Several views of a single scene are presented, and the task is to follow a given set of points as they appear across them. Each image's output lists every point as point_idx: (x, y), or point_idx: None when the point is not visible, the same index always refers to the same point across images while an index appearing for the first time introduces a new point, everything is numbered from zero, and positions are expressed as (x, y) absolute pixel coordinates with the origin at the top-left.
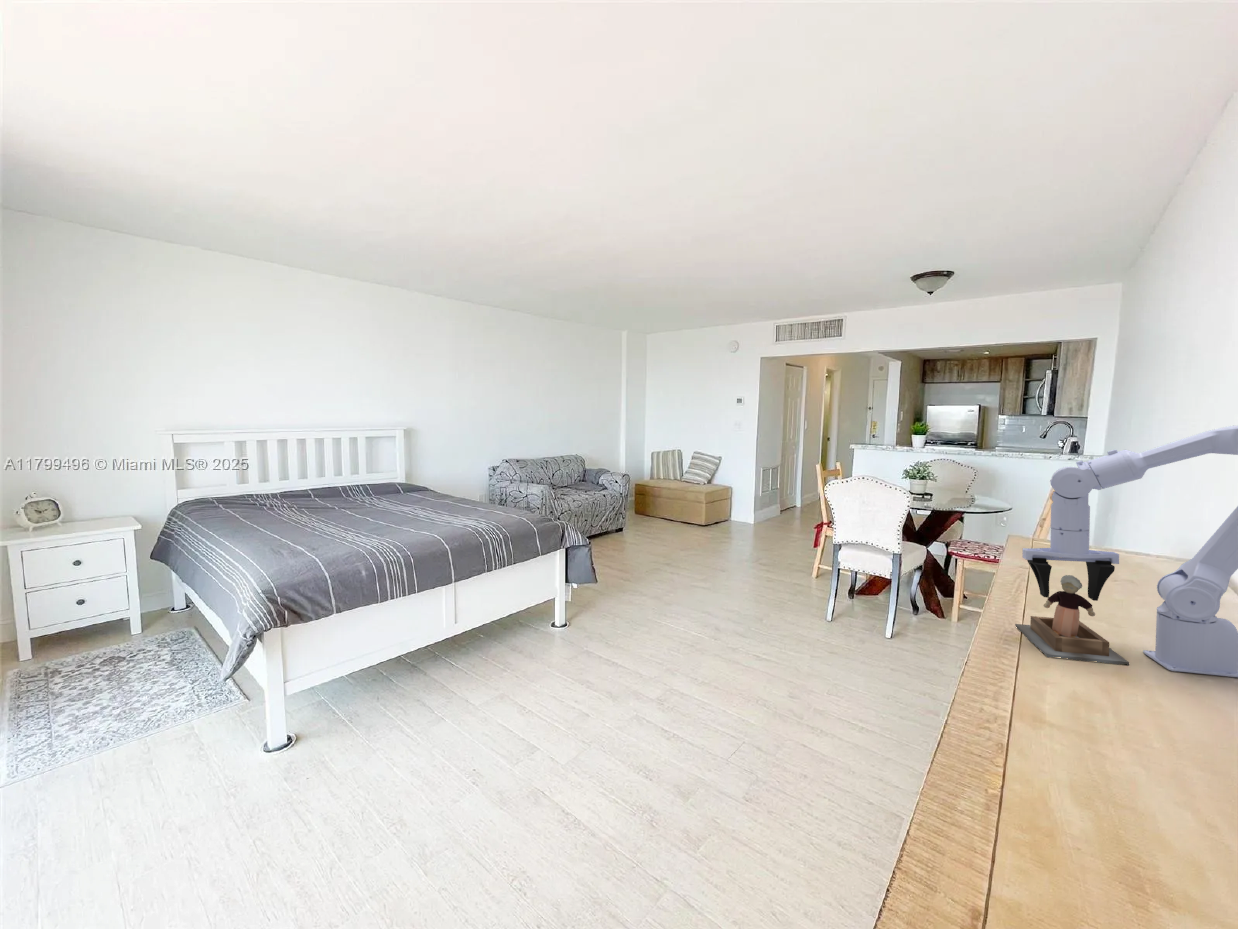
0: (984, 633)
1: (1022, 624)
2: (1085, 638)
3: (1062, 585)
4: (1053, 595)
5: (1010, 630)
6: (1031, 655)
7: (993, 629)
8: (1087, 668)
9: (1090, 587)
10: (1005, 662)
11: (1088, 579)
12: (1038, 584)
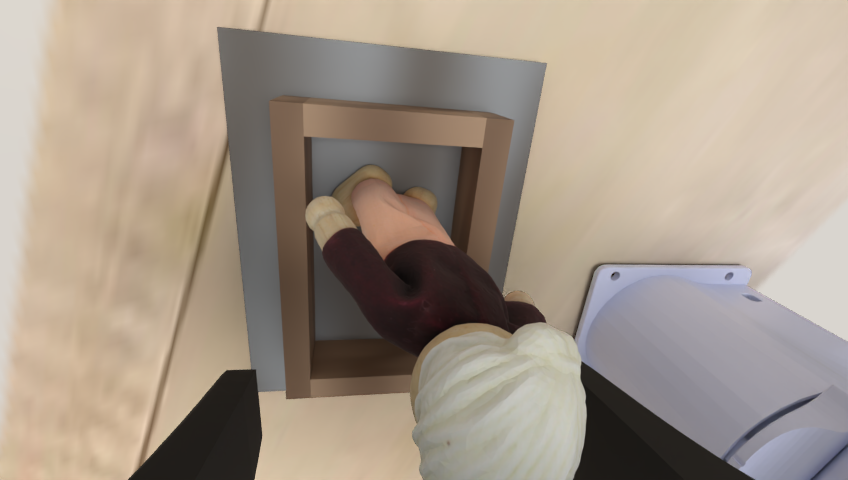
0: (33, 183)
1: (256, 33)
2: (402, 375)
3: (412, 408)
4: (352, 294)
5: (182, 103)
6: (207, 380)
7: (87, 104)
8: (350, 423)
9: (598, 448)
10: (103, 457)
11: (663, 469)
12: (169, 443)
